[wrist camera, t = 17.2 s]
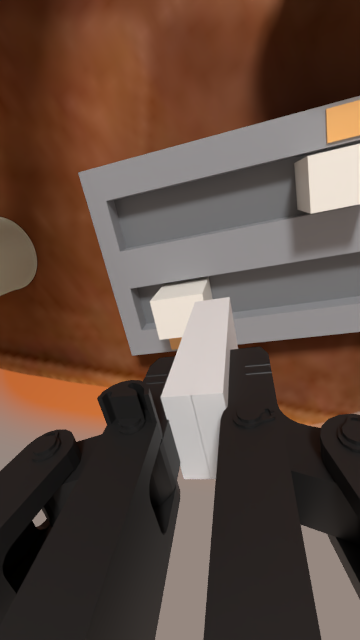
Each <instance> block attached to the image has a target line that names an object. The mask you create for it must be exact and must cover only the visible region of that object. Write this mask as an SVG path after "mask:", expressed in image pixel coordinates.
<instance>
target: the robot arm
mask: <svg viewBox="0 0 360 640" xmlns="http://www.w3.org/2000/svg"><path fill="white" fill-rule="evenodd" d="M97 399H98V402H99V405H100V407H101V410H102V412H103V415H104V418H105V420H106V423H107V427H106V428H105V430H104V432H103V434H101V435H99V436H95V437H92V438H88V439H85V440H82V441H78V442H76V441H75V438H74V436H73V434H72V432H70V431H68V430H55V431H51V432H48V433H46V434H44V435H42V436H40V437H38V438H37V439H35V440H34V441H33V442H31V443H30V444H29V445H28V446H26V447H25V448H24V449H23V450H22V451H21V452H20V453H19V454H18V455H17V456H16V457H15V458H14V459H13V460H12V461H11V462H10V463H8V464H7V465H6V466H5V467H4V468H3V469H2V470H1V471H0V640H155V635H156V630H157V624H158V619H159V613H160V608H161V602H162V596H163V591H164V586H165V580H166V574H167V569H168V563H169V557H170V552H171V547H172V541H173V535H174V530H175V524H176V518H177V513H178V508H179V502H180V489H179V486H178V482H177V477H178V472H179V467H181V470H182V474H183V478H184V479H216V485H215V498H214V511H213V524H212V537H211V550H210V563H209V576H208V589H207V602H206V615H205V628H204V629H205V630H204V640H321V636H320V630H319V625H318V619H317V613H316V609H315V602H314V597H313V592H312V586H311V580H310V575H309V569H308V564H307V558H306V553H305V548H304V542H303V536H302V531H301V525H304V526H307V527H309V528H313V529H315V530H318V531H321V532H324V533H326V534H328V537H329V539H330V541H331V543H332V545H333V547H334V549H335V551H336V553H337V555H338V557H339V559H340V561H341V563H342V565H343V567H344V569H345V571H346V573H347V575H348V577H349V578H350V581H351V583H352V585H353V587H354V589H355V591H356V593H357V594H358V597H359V598H360V415H357V414H344V415H338V416H335V417H333V418H330V419H328V420H327V421H326V422H325V423H324V424H323V425H322V427H321V428H318V427H312V426H307V425H304V424H300V423H297V422H295V421H293V420H291V419H289V418H288V417H286V416H285V415H284V414H283V413H282V412H281V411H280V409H279V407H278V404H277V399H276V394H275V388H274V383H273V377H272V372H271V366H270V360H269V355H268V353H267V352H266V351H265V350H264V349H263V348H261V347H251V348H241V349H238V345H237V339H236V333H235V327H234V321H233V314H232V308H231V302H230V297H226V298H219V299H212V300H205V301H198V302H195V303H194V306H193V309H192V312H191V314H190V317H189V320H188V323H187V326H186V328H185V331H184V334H183V337H182V339H181V342H180V345H179V348H178V351H177V353H176V356H174V357H165V358H159V359H158V360H157V361H156V362H154V363H153V364H152V365H151V366H150V368H149V370H148V372H147V374H146V377H145V378H144V380H143V382H142V381H140V380H129V381H124V382H120V383H118V384H115V385H113V386H111V387H109V388H108V389H106V390H105V391H103V392H102V394H101V395H100V396H99V397H98V398H97ZM41 509H42V511H43V512H44V514H45V516H46V518H47V519H46V521H45V522H44V523H42V524H41V525H40V526H38V527H35V525H34V523H33V521H32V520H33V519H34V517H35V516H36V515H37V514H38V512H39V511H40V510H41ZM300 524H301V525H300Z"/></svg>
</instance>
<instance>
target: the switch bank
mask: <svg viewBox="0 0 360 640" xmlns="http://www.w3.org/2000/svg"><path fill="white" fill-rule="evenodd" d="M356 144H360V96H357V97H353V98H350V99H346V100H342V101H339V102H335V103H331V104H328V105H324V106H320V107H317V108H313V109H309V110H306V111H302V112H298V113H295V114H291V115H287V116H284V117H280V118H276V119H273V120H269V121H265V122H262V123H258V124H254V125H251V126H247V127H243V128H240V129H236V130H232V131H229V132H225V133H221V134H218V135H214V136H211V137H207V138H203V139H200V140H196V141H192V142H189V143H185V144H181V145H178V146H174V147H170V148H167V149H163V150H159V151H156V152H152V153H148V154H145V155H141V156H137V157H134V158H130V159H126V160H123V161H119V162H115V163H112V164H108V165H104V166H101V167H97V168H93V169H90V170H86V171H82V172H79V173H78V174H79V177H80V180H81V184H82V187H83V191H84V194H85V197H86V201H87V204H88V208H89V211H90V214H91V218H92V221H93V224H94V228H95V231H96V235H97V238H98V241H99V245H100V248H101V252H102V255H103V258H104V262H105V265H106V269H107V272H108V275H109V279H110V282H111V285H112V289H113V292H114V296H115V299H116V302H117V306H118V309H119V313H120V316H121V319H122V323H123V326H124V329H125V333H126V336H127V340H128V343H129V346H130V350H131V353H132V355H142V354H152V353H161V352H171V351H178V348H179V345H180V342H181V339H182V337H180V338H171V339H162V340H159V336H158V332H157V328H156V324H155V320H154V316H153V312H152V308H151V305H150V300H151V299H152V298H153V297H154V296H155V294H156V293H157V292H158V291H159V290H160V288H161V287H162V286H163V285H164V284H166V283H173V282H179V281H185V280H191V279H197V278H204V277H209V282H210V287H211V293H212V299H219V298H226V297H230V302H231V308H232V314H233V321H234V327H235V333H236V339H237V345H238V344H248V343H257V342H267V341H276V340H286V339H296V338H305V337H315V336H324V335H334V334H344V333H353V332H360V204H358V205H353V206H348V207H343V208H338V209H333V210H328V211H323V212H317V213H312V214H310V213H307V212H304V211H300V210H297V196H296V182H295V168H294V163H295V162H297V161H299V160H301V159H303V158H305V157H307V156H310V155H314V154H318V153H322V152H327V151H331V150H335V149H339V148H343V147H348V146H352V145H356Z"/></svg>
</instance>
